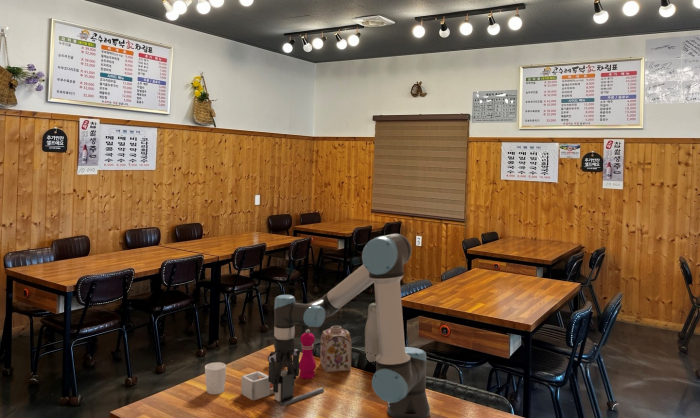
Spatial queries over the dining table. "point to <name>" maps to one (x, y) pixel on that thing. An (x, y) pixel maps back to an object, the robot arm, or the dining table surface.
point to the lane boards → (271, 391)
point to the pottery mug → (280, 362)
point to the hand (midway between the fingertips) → (283, 397)
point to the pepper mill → (307, 356)
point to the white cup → (215, 377)
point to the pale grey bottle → (371, 334)
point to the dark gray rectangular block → (286, 385)
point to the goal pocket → (255, 385)
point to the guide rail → (301, 397)
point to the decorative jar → (335, 350)
